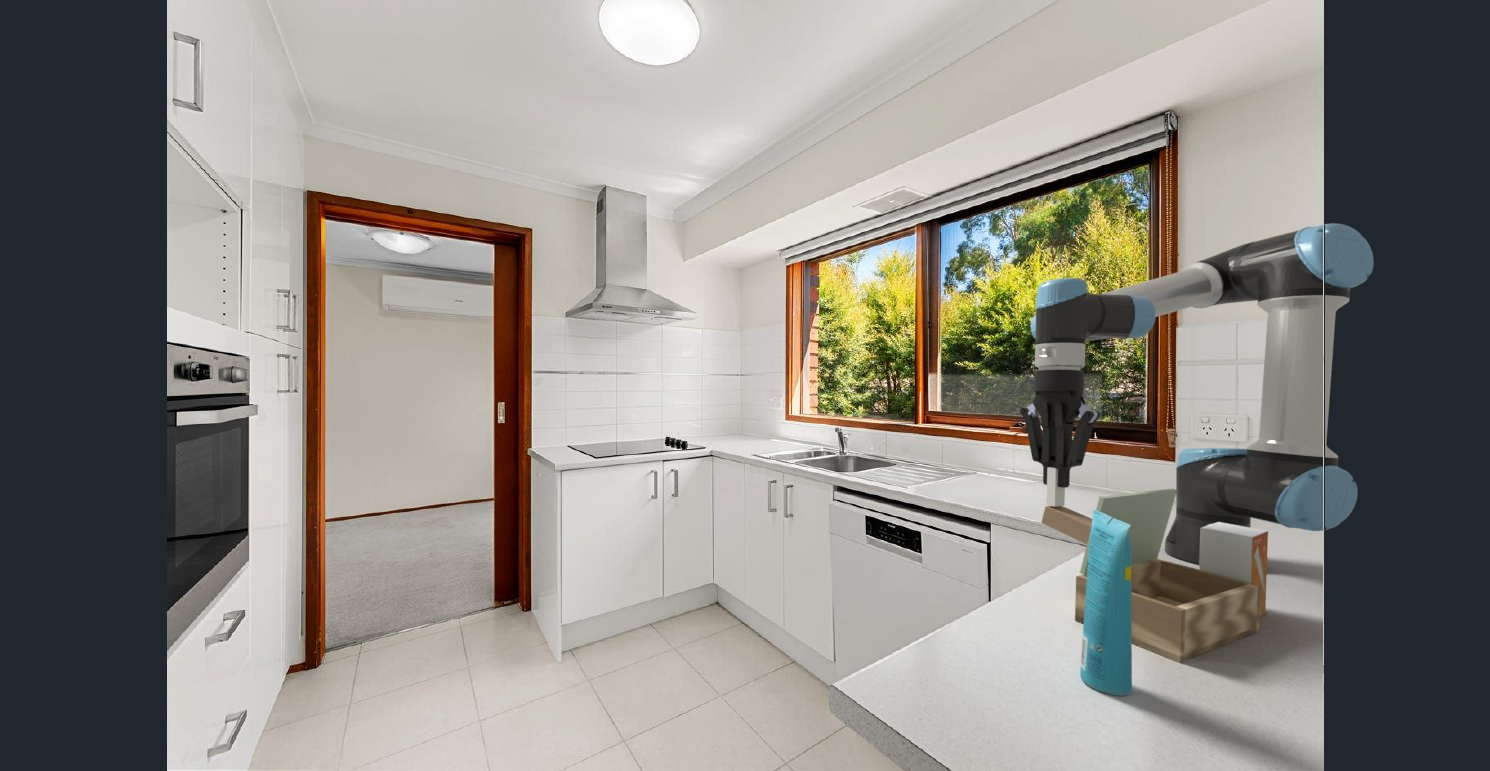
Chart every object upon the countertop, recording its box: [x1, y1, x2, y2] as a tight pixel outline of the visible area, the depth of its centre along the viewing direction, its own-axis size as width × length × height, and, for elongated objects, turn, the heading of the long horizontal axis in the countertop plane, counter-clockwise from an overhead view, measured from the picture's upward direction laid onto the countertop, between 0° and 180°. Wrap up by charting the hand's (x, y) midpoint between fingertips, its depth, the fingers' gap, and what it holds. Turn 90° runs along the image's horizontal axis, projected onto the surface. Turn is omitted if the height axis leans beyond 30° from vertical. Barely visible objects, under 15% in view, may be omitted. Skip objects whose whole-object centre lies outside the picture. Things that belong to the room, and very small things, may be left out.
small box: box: [1198, 522, 1269, 617], centre depth 83 cm, size 8×6×13 cm
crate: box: [1074, 558, 1261, 664], centre depth 77 cm, size 22×13×6 cm, turn 117°
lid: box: [1041, 488, 1177, 575], centre depth 87 cm, size 20×12×13 cm
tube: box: [1079, 508, 1133, 696], centre depth 61 cm, size 7×5×19 cm, turn 178°
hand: (1055, 505), depth 92 cm, fingers closed
